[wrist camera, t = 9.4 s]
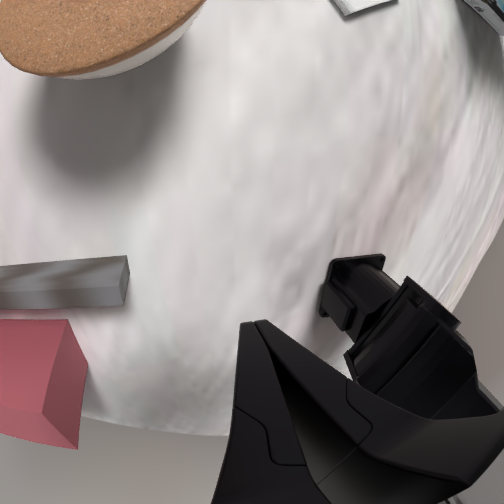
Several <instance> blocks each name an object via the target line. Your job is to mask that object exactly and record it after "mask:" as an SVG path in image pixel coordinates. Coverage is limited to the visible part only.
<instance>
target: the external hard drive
mask: <svg viewBox="0 0 504 504" xmlns="http://www.w3.org/2000/svg"><path fill="white" fill-rule="evenodd" d="M387 1H391V0H334V2H335V3H336V4H337V6H338V7H339V8H340V10H341V11H342V13H343V14H344V15H345V16H346V15H349V14H351V13H354V12H357V11H360V10H362V9H365V8H368V7H371V6H374V5H377V4H381V3H384V2H387Z"/></svg>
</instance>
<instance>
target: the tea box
mask: <svg viewBox="0 0 504 504" xmlns="http://www.w3.org/2000/svg"><path fill="white" fill-rule="evenodd" d="M464 1H465V2H466V3H467V4H469V5H470V6H471V7H472V8H473V9H474V10H475V11H476V12H477V13H479V14H480V15H481V16H482V17H483V18H484V19H485V20H486V21H487V22H488V23H489V24H490V25H491V26H492V27H493V28H494V30H495V31H496V32H497V33H498V34H499V35H501V36H504V0H464Z"/></svg>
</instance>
